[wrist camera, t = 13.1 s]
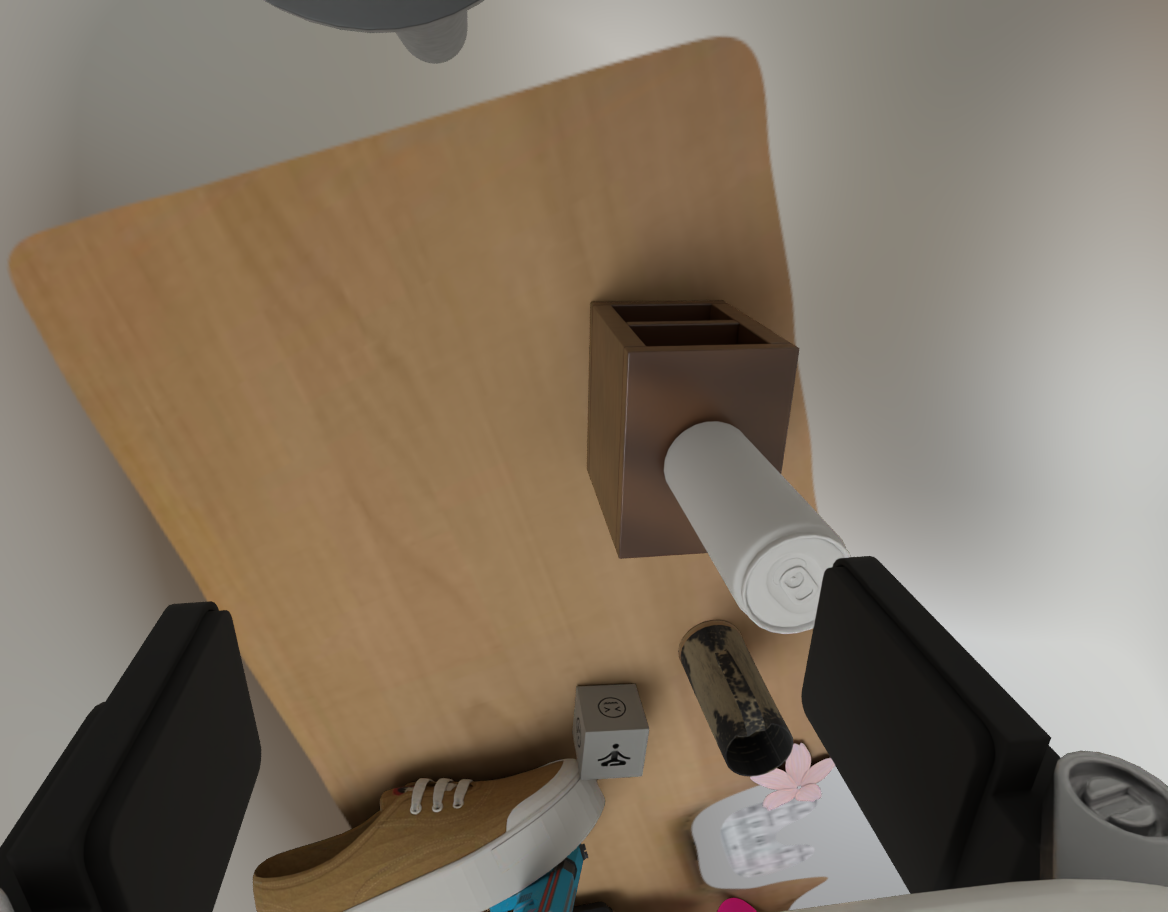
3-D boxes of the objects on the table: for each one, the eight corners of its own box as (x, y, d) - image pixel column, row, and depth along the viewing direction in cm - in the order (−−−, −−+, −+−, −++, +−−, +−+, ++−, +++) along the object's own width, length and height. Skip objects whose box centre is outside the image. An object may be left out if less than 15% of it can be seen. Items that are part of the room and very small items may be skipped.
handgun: (432, 875, 66) (584, 822, 67) (440, 908, 65) (594, 854, 66) (336, 980, 44) (564, 900, 45) (345, 1032, 43) (577, 950, 44)
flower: (726, 819, 66) (721, 805, 67) (814, 834, 69) (807, 820, 70) (776, 742, 62) (769, 729, 64) (866, 761, 65) (857, 748, 67)
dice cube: (572, 732, 60) (580, 780, 56) (576, 686, 58) (585, 732, 54) (629, 729, 61) (642, 776, 57) (635, 683, 59) (649, 728, 55)
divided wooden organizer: (590, 301, 46) (627, 352, 35) (723, 300, 47) (800, 348, 36) (586, 469, 51) (618, 559, 40) (707, 463, 52) (770, 549, 41)
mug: (748, 662, 60) (808, 776, 49) (687, 683, 60) (734, 802, 49) (729, 590, 57) (790, 696, 46) (665, 612, 57) (711, 723, 46)
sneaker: (613, 848, 52) (553, 722, 53) (260, 1025, 52) (207, 895, 53) (613, 796, 62) (563, 690, 63) (317, 944, 62) (272, 836, 63)
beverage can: (719, 399, 37) (824, 507, 26) (763, 464, 39) (878, 590, 28) (643, 453, 37) (716, 581, 26) (690, 514, 39) (776, 657, 28)
